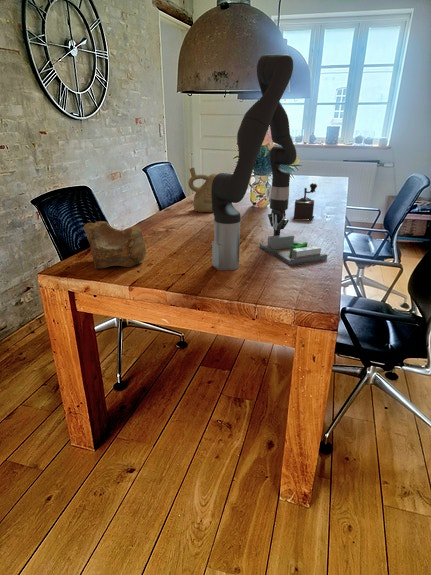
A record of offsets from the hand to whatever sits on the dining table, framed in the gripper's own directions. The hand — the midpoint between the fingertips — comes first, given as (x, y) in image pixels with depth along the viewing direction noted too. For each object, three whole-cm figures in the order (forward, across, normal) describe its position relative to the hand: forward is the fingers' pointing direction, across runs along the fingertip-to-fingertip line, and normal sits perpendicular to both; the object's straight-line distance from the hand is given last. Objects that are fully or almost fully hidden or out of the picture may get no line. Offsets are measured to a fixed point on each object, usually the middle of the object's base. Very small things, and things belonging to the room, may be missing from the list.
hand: (276, 237), depth 163 cm
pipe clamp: (+4, +14, +1) cm, 15 cm away
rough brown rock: (+4, -3, -70) cm, 70 cm away
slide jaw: (+3, +3, 0) cm, 5 cm away
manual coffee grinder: (+4, -40, +44) cm, 59 cm away
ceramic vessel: (+4, -77, -2) cm, 77 cm away
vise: (+3, +12, 0) cm, 13 cm away
